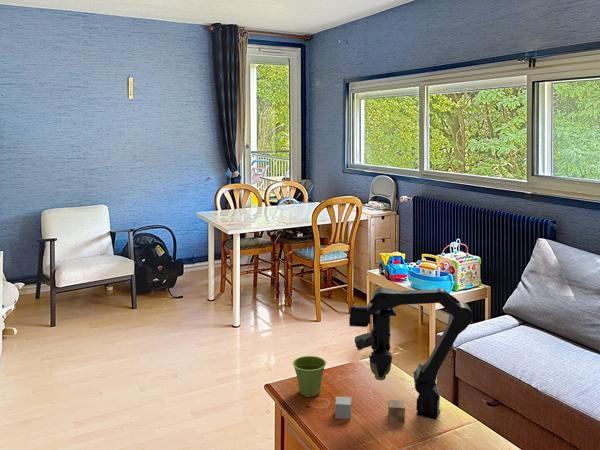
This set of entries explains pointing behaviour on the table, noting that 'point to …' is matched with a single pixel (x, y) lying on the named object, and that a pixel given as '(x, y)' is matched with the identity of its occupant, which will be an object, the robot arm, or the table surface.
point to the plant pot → (309, 374)
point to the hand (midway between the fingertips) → (380, 372)
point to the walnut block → (396, 411)
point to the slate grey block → (343, 407)
